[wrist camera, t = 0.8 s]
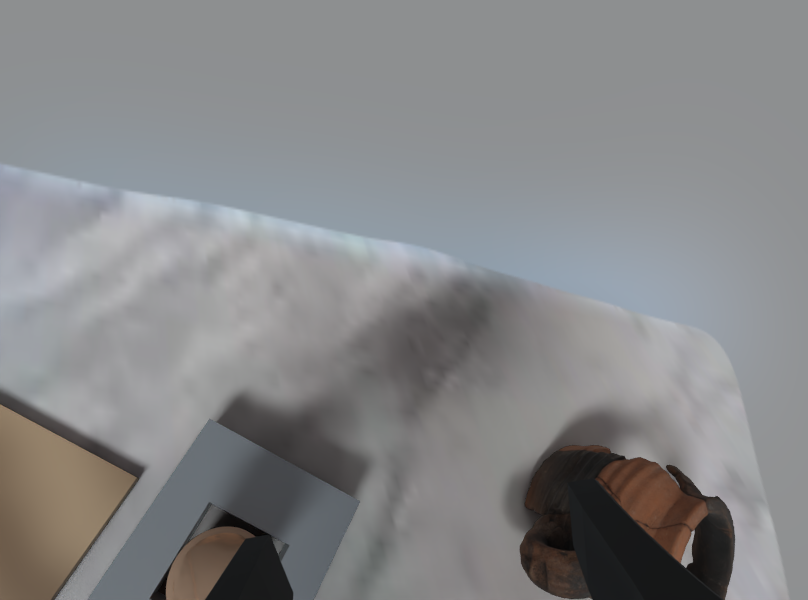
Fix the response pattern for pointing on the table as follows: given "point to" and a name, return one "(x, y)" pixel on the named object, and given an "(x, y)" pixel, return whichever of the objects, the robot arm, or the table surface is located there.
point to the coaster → (49, 506)
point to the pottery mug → (642, 499)
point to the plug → (203, 563)
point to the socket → (241, 497)
